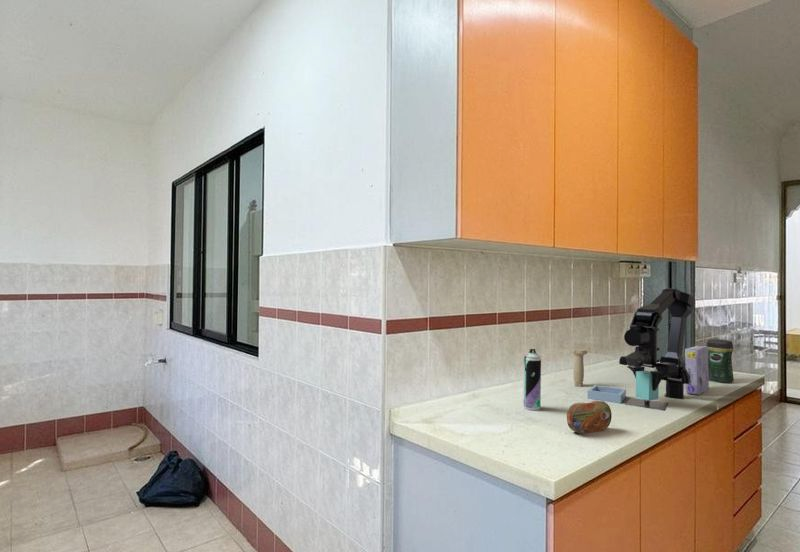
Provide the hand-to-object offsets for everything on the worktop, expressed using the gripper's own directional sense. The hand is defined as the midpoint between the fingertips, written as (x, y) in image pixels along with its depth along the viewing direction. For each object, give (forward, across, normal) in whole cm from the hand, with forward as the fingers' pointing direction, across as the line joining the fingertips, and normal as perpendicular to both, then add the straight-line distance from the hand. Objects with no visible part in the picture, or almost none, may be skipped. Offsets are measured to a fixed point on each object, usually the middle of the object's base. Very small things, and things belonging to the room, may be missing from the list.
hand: (647, 388), depth 159 cm
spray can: (+6, -12, -41) cm, 43 cm away
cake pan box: (+6, -7, +40) cm, 41 cm away
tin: (+6, +12, -41) cm, 44 cm away
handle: (+6, -32, +1) cm, 32 cm away
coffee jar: (+6, -16, +69) cm, 71 cm away
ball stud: (+6, 0, 0) cm, 6 cm away
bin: (+6, -11, -6) cm, 14 cm away
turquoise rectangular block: (+3, 0, 0) cm, 3 cm away
